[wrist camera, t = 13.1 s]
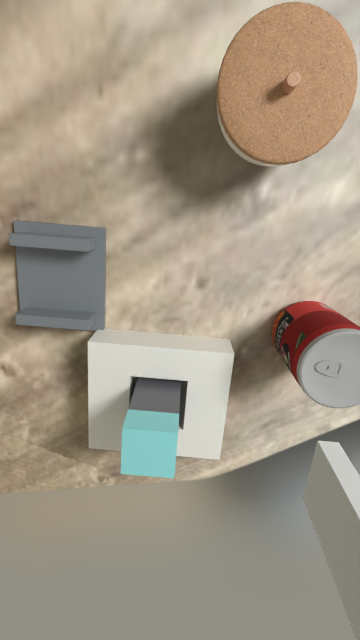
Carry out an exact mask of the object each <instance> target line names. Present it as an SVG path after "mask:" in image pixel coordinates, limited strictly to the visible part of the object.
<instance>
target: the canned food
mask: <svg viewBox="0 0 360 640" xmlns="http://www.w3.org/2000/svg"><path fill="white" fill-rule="evenodd" d="M272 340H273V343H274V346H275V348H276V349H277V351H278V352H279V354H280V355H281V357H282V359H283V360H284V362H285V363H286V365H287V367H288V368H289V370H290V371H291V373H292V374H293V376H294V378H295V379H296V381H297V382H298V384H299V385H300V387H301V388H302V390H303V391H304V392H305V393H306V394H307V395H308V396H309V397H310V398H311V399H312V400H313V401H315V402H317V403H318V404H321V405H323V406H326V407H331V408H348V407H353V406H356V405H359V404H360V327H359V326H357V325H356V324H354V323H353V322H351V321H350V320H348V319H347V318H345V317H344V316H342V315H341V314H339V313H337V312H336V311H334V310H333V309H331V308H330V307H328V306H327V305H325V304H322V303H320V302H314V301H303V302H297V303H295V304H292V305H290V306H288V307H286V308H285V309H284V310H283V311H281V313H280V314H279V315H278V316H277V318H276V320H275V321H274V324H273V328H272Z"/></svg>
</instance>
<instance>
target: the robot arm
mask: <svg viewBox="0 0 360 640" xmlns="http://www.w3.org/2000/svg"><path fill="white" fill-rule="evenodd" d="M303 500H304V503H305V506H306V508H307V511H308V514H309V516H310V519H311V522H312V524H313V527H314V530H315V532H316V535H317V537H318V540H319V543H320V545H321V548H322V551H323V553H324V556H325V559H326V561H327V564H328V567H329V569H330V572H331V575H332V577H333V580H334V583H335V585H336V587H337V590H338V593H339V596H340V598H341V600H342V604H343V606H344V609H345V612H346V614H347V617H348V620H349V622H350V625H351V627H352V630H353V633H354V635H355V638H356V640H360V476H359V475H358V473H357V471H356V470H355V468H354V467H353V465H352V463H351V462H350V460H349V458H348V457H347V455H346V454H345V452H344V450H343V449H342V447H341V445H340V444H339V443H338V442H327V441H318V442H317V446H316V449H315V453H314V457H313V461H312V464H311V468H310V472H309V476H308V479H307V483H306V487H305V491H304V494H303Z"/></svg>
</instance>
